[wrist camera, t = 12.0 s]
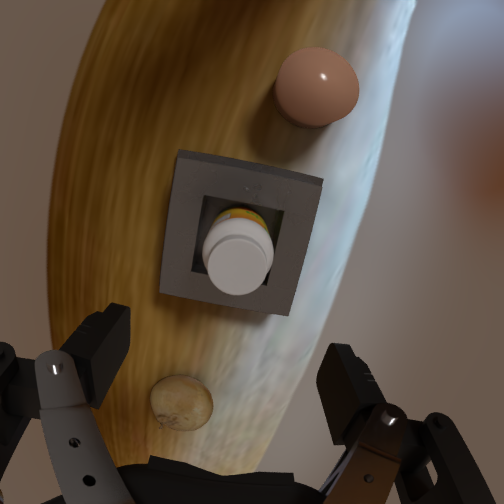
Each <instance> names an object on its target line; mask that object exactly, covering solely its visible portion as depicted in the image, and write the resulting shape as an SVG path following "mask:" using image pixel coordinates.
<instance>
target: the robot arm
mask: <svg viewBox="0 0 504 504" xmlns="http://www.w3.org/2000/svg"><path fill="white" fill-rule="evenodd" d="M129 346H130V307H128V306H124V305H120V304H116V303H110V304H109V306H108V307H107V308H106V309H105V310H104V312H103V313H102V312H98V311H97V312H95V313H93V314H91V315H89V316H87V317H86V318H85V320H84V321H83V322H82V323H81V325H79V327H78V328H77V329H76V331H74V332H73V334H72V335H71V336H70V337H69V338H68V339H67V341H66V342H65V343H64V344H63V345H62V347H61V348H60V349H59V350H50V351H46V352H44V353H42V354H40V355H39V356H38V357H37V359H36V360H32V359H25V358H19V357H16V354H15V350H14V348H13V347H12V346H11V345H10V344H8V343H5V342H0V481H1V478H2V476H3V474H4V471H5V469H6V467H7V465H8V463H9V461H10V459H11V457H12V455H13V453H14V451H15V449H16V446H17V445H18V443H19V441H20V439H21V437H22V435H23V433H24V431H25V429H26V427H27V426H28V424H29V422H30V420H31V418H35V419H41V423H42V428H43V432H44V436H45V440H46V444H47V448H48V452H49V455H50V459H51V462H52V465H53V469H54V472H55V475H56V478H57V481H58V484H59V487H60V489H61V492H62V495H60V496H58V497H55V498H53V499H51V500H49V501H46V502H44V503H41V504H385V503H386V500H387V498H388V496H389V493H390V490H391V488H392V486H393V483H394V482H395V485H396V488H397V492H398V495H399V498H400V502H401V504H496V502H495V500H494V498H493V496H492V494H491V492H490V490H489V488H488V486H487V484H486V482H485V480H484V478H483V476H482V474H481V472H480V470H479V468H478V466H477V464H476V462H475V460H474V458H473V456H472V455H471V453H470V451H469V449H468V448H467V445H466V444H465V442H464V440H463V438H462V436H461V435H460V433H459V431H458V429H457V428H456V426H455V424H454V423H453V421H452V420H451V419H450V418H449V417H448V416H446V415H444V414H442V413H438V412H434V413H431V414H429V415H428V416H427V417H426V419H425V420H424V421H423V422H422V421H416V420H410V419H407V415H406V414H405V412H404V411H403V410H402V409H401V408H400V407H398V406H396V405H394V404H390V403H387V402H386V400H385V398H384V396H383V394H382V392H381V390H380V388H379V387H378V384H377V383H376V382H375V379H374V377H373V375H371V371H370V369H369V368H368V366H367V364H366V363H365V362H364V361H362V360H361V359H360V358H359V357H356V356H355V354H354V352H353V350H352V348H351V346H350V345H348V344H339V343H331V344H330V345H329V347H328V349H327V351H326V354H325V356H324V359H323V361H322V363H321V366H320V368H319V370H318V373H317V379H316V384H317V389H318V392H319V395H320V399H321V402H322V406H323V409H324V413H325V416H326V419H327V423H328V427H329V430H330V434H331V437H332V441H333V444H334V445H345V446H346V450H345V451H344V452H343V454H342V455H341V457H340V459H339V460H338V462H337V464H336V465H335V467H334V469H333V470H332V472H331V473H330V475H329V476H328V478H327V479H326V481H325V482H324V484H323V485H322V487H321V488H320V489H319V490H316V489H314V488H312V487H309V486H307V485H304V484H301V483H297V482H294V475H293V473H277V472H254V473H246V474H238V475H228V476H222V475H218V474H215V473H212V472H209V471H206V470H203V469H201V468H198V467H195V466H193V465H190V464H188V463H185V462H179V461H174V460H170V459H165V458H160V457H156V456H152V455H150V458H149V462H148V464H131V465H125V466H121V467H117V468H116V467H115V465H114V462H113V460H112V458H111V456H110V454H109V452H108V450H107V447H106V445H105V443H104V441H103V438H102V436H101V433H100V431H99V429H98V426H97V424H96V421H95V418H94V416H93V413H92V411H91V408H90V407H93V408H96V409H98V410H99V408H100V406H101V404H102V402H103V400H104V398H105V396H106V394H107V392H108V390H109V388H110V386H111V384H112V382H113V380H114V378H115V376H116V374H117V372H118V370H119V368H120V366H121V364H122V363H123V361H124V359H125V357H126V355H127V353H128V350H129ZM431 460H432V463H433V465H434V467H435V470H436V472H437V475H438V478H437V483H436V484H435V486H434V484H433V482H432V479H431V477H430V474H429V472H428V469H427V467H426V465H427V464H428V463H429V462H430V461H431ZM3 500H4V499H3V495H2V492H1V490H0V504H3V502H4V501H3Z"/></svg>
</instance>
